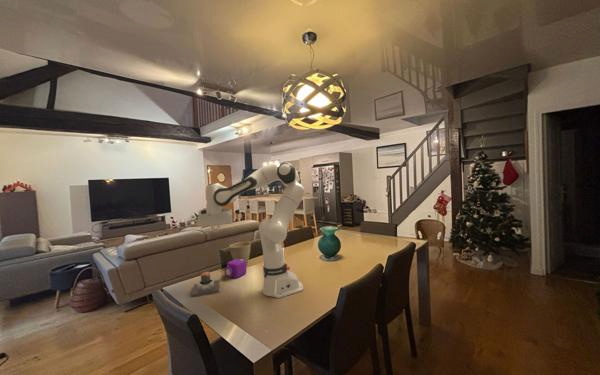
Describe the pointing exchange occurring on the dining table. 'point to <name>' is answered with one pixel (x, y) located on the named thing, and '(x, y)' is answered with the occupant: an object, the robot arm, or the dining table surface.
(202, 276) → the dome-topped dark cylinder
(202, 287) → the octagon ring plate
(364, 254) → the dining table surface
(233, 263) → the toy camera
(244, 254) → the plant pot
